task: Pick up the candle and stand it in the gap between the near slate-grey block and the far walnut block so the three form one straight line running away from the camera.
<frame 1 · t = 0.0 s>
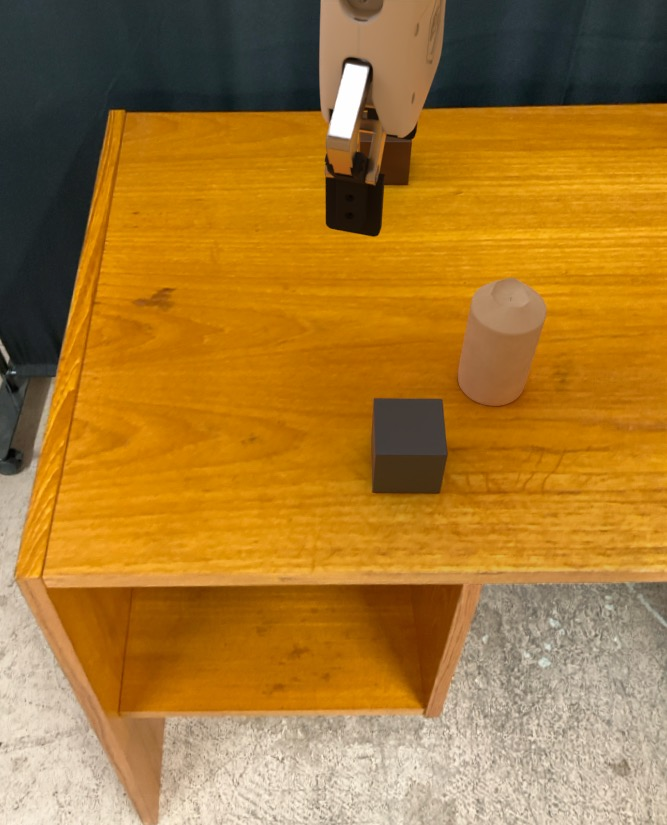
hand: (373, 179, 50), 20 cm above the table, tool pointing down, fingers open, 9 cm apart
candle: (490, 382, 67), on the table
near block: (404, 465, 62), on the table
far block: (382, 169, 84), on the table
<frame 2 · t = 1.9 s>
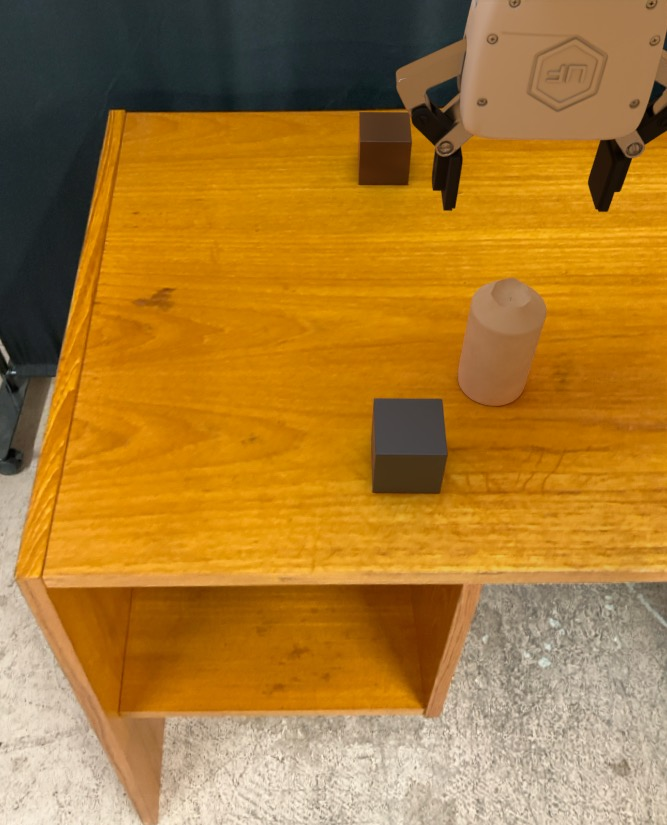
hand: (521, 197, 53), 18 cm above the table, tool pointing down, fingers open, 9 cm apart
nothing on the table moved.
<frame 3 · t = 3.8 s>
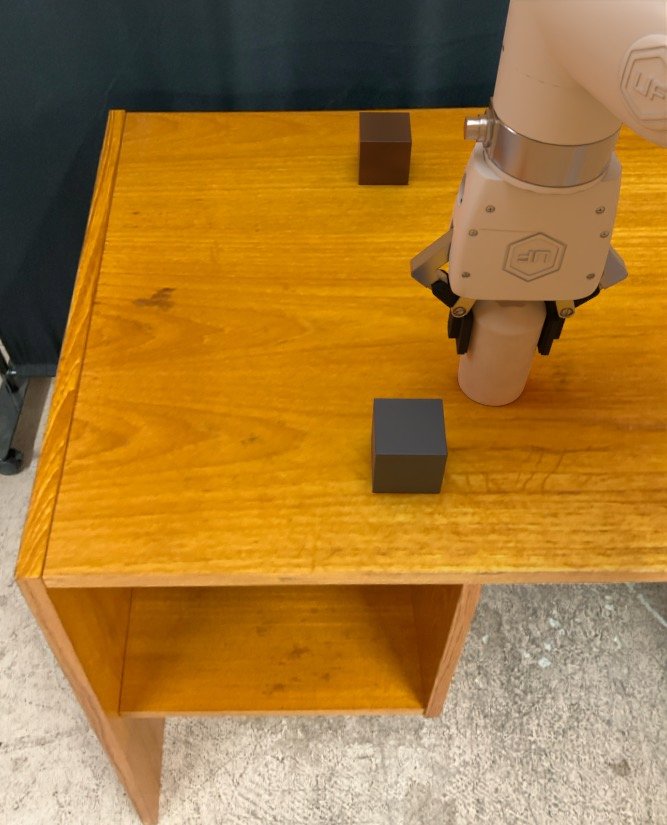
hand: (500, 339, 63), 5 cm above the table, tool pointing down, fingers closed on candle, 5 cm apart
candle: (490, 382, 67), on the table, touching gripper
everything else where it was.
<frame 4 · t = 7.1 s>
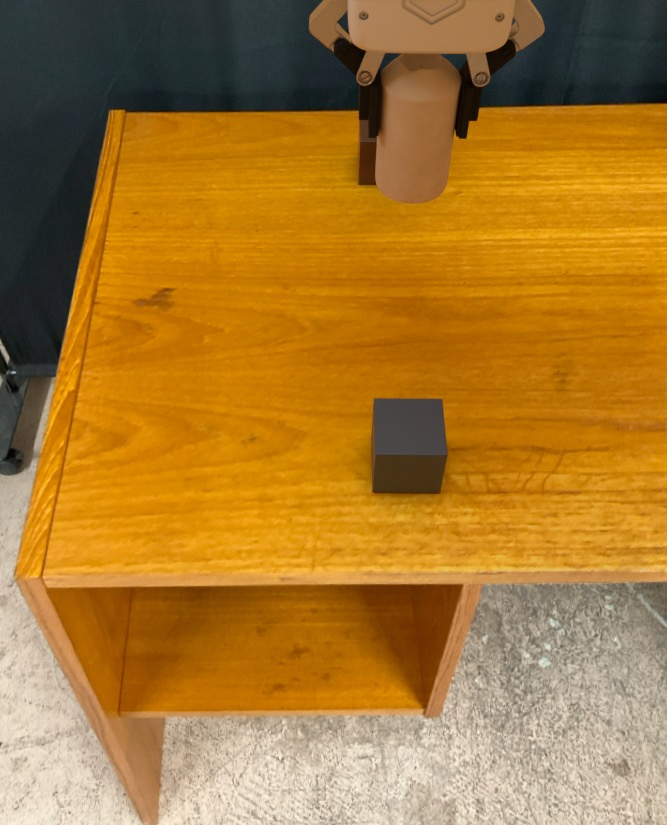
hand: (416, 125, 59), 18 cm above the table, tool pointing down, fingers closed on candle, 5 cm apart
candle: (410, 184, 63), point 13 cm above the table, touching gripper
everything else where it was.
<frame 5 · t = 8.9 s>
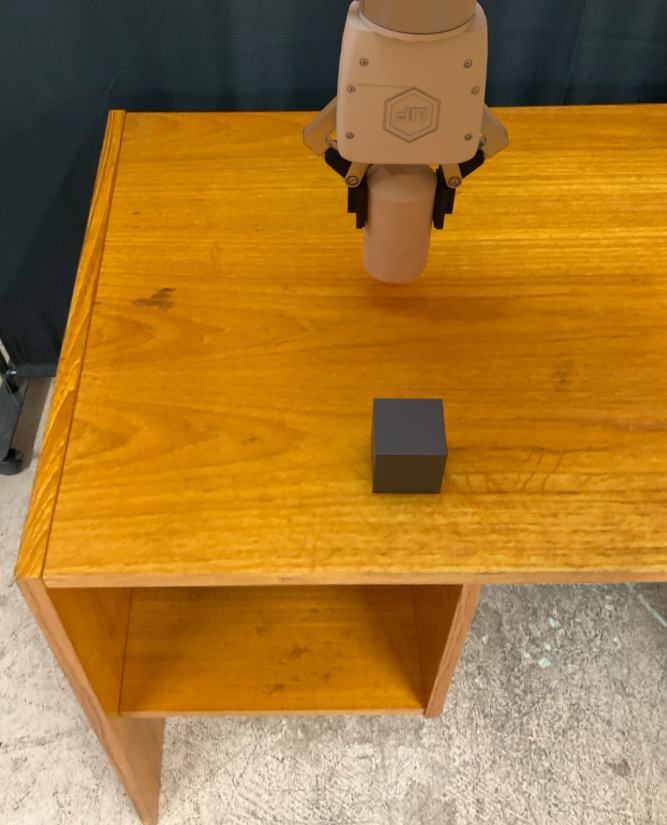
hand: (398, 216, 66), 9 cm above the table, tool pointing down, fingers closed on candle, 5 cm apart
candle: (394, 263, 70), point 4 cm above the table, touching gripper
everything else where it was.
when the fingers open (5 cm above the table, at t = 10.4 s): candle stays where it is, on the table.
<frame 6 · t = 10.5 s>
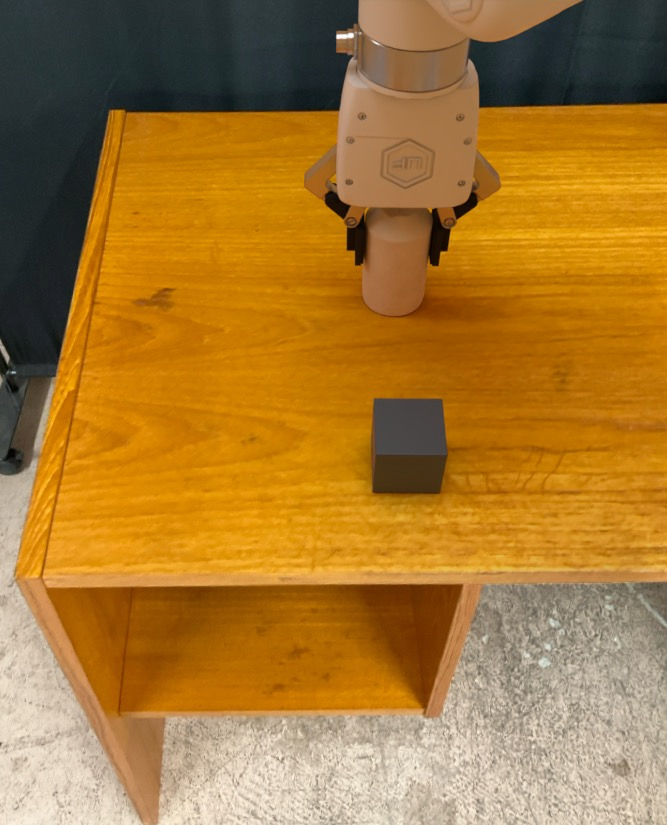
hand: (395, 253, 69), 5 cm above the table, tool pointing down, fingers open, 5 cm apart
candle: (392, 296, 73), on the table
everything else where it was.
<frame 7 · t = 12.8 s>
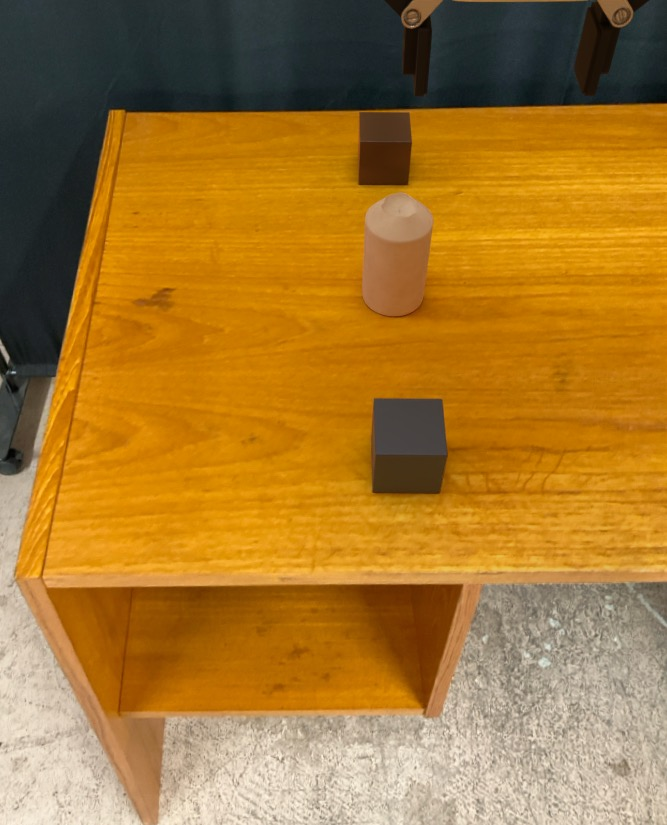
hand: (501, 84, 48), 25 cm above the table, tool pointing down, fingers open, 9 cm apart
nothing on the table moved.
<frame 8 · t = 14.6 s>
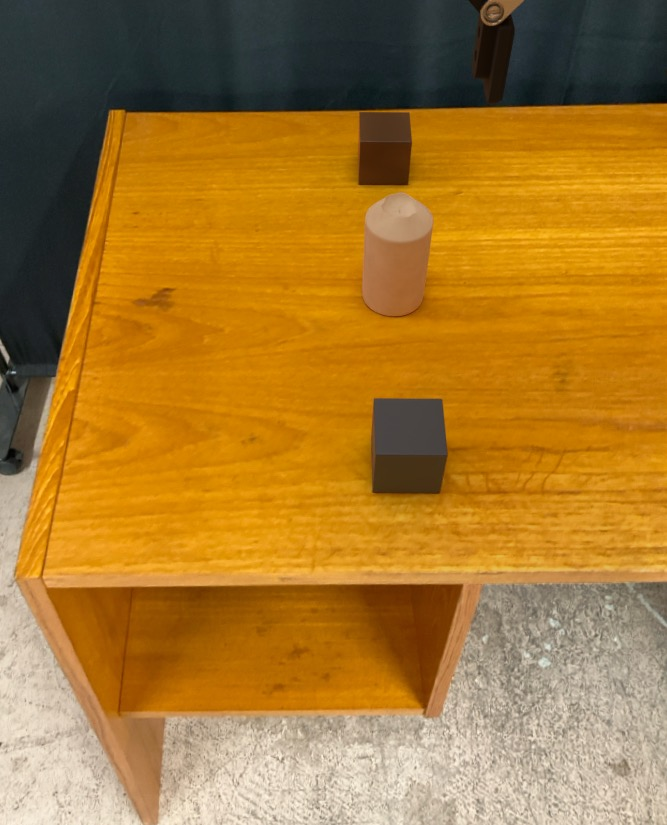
hand: (584, 89, 42), 28 cm above the table, tool pointing down, fingers open, 9 cm apart
nothing on the table moved.
at the end: candle 0.1 cm from the target spot on the table beside the near block, on the table; candle tilted 0°; candle 18.2 cm from the far block (horizontally) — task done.
